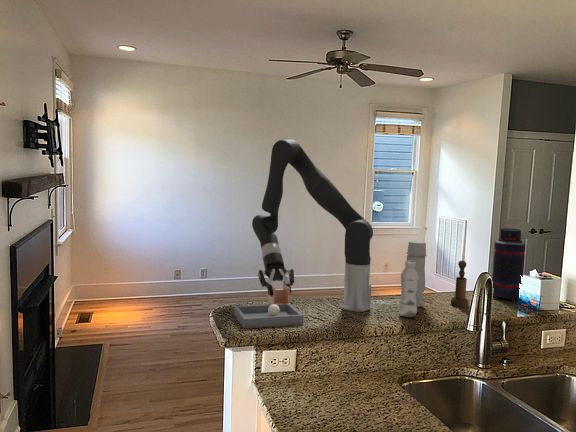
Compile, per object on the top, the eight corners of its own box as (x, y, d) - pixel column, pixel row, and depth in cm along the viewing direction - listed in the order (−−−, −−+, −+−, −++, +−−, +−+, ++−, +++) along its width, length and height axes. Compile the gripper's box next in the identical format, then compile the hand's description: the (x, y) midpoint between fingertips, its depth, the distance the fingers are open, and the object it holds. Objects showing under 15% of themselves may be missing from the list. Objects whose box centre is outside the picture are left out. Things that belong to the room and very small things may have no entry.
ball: (283, 306, 158) (279, 314, 155) (278, 312, 160) (274, 320, 157) (273, 300, 158) (269, 307, 155) (268, 306, 160) (264, 314, 157)
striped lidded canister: (520, 303, 191) (525, 231, 189) (489, 298, 197) (494, 228, 195) (522, 296, 203) (527, 228, 201) (493, 292, 209) (497, 226, 207)
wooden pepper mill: (470, 305, 185) (473, 260, 184) (466, 308, 180) (469, 262, 178) (452, 302, 189) (455, 258, 187) (449, 305, 183) (452, 260, 182)
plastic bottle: (414, 314, 169) (418, 260, 167) (418, 319, 162) (421, 263, 161) (396, 313, 170) (399, 259, 168) (399, 318, 163) (402, 262, 161)
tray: (288, 311, 167) (288, 303, 166) (303, 324, 153) (303, 315, 152) (233, 314, 160) (234, 306, 160) (244, 328, 146) (244, 319, 146)
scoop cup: (283, 303, 175) (284, 284, 174) (289, 308, 169) (289, 287, 169) (268, 304, 173) (269, 284, 172) (273, 309, 167) (274, 288, 167)
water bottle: (413, 308, 176) (417, 243, 174) (399, 303, 183) (402, 241, 181) (430, 306, 181) (434, 243, 179) (416, 301, 188) (419, 240, 186)
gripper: (256, 251, 174) (263, 290, 164) (292, 251, 179) (301, 288, 169) (252, 263, 180) (259, 301, 170) (287, 262, 185) (296, 299, 174)
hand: (280, 294), depth 169 cm, fingers closed on scoop cup, 6 cm apart
